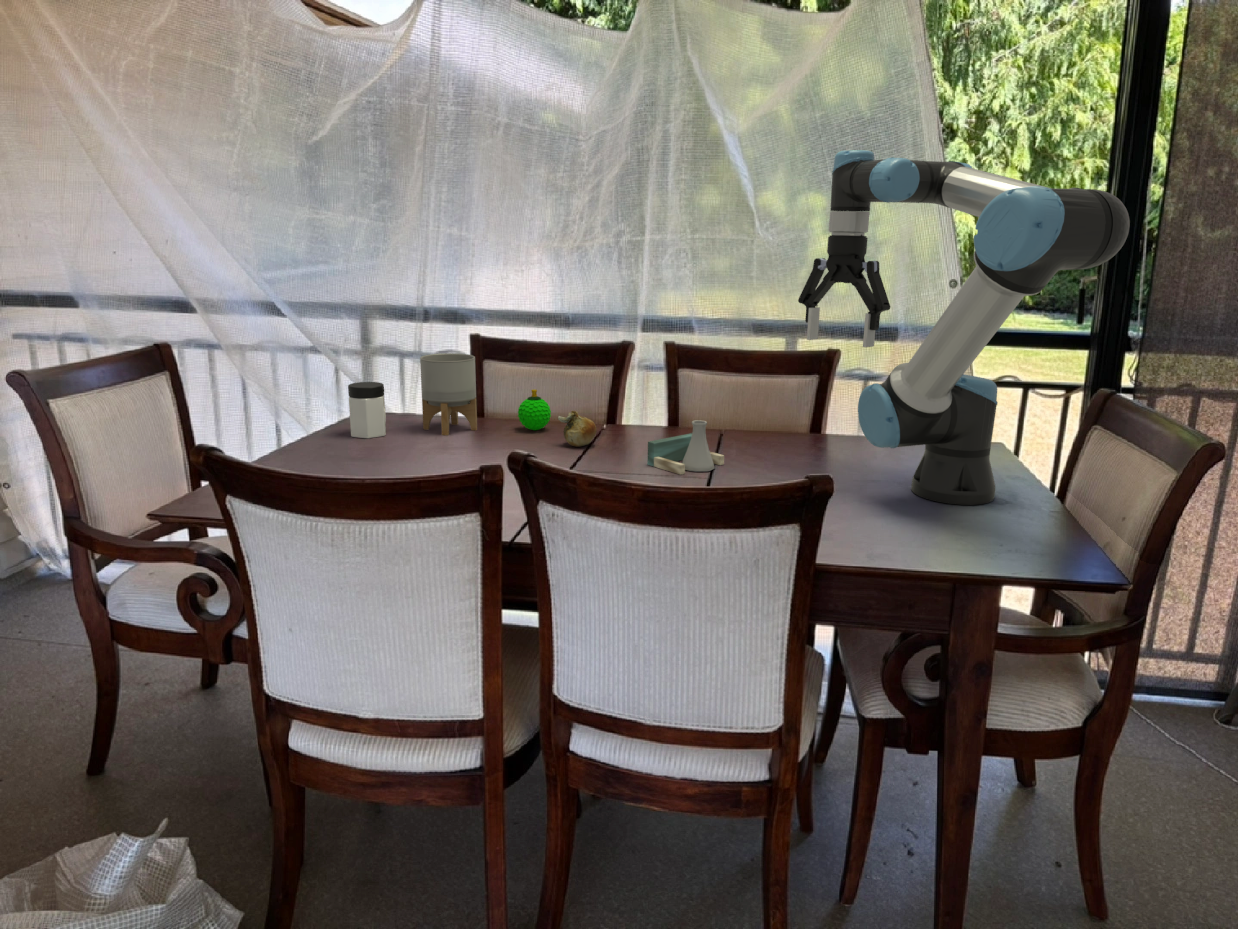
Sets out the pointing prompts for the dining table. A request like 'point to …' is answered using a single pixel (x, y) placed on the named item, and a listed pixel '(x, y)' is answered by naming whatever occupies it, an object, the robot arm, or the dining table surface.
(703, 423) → the flask
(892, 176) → the robot arm
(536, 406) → the ornament
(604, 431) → the dining table surface
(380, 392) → the jar
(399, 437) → the dining table surface
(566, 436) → the onion
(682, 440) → the pocket
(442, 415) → the planter
